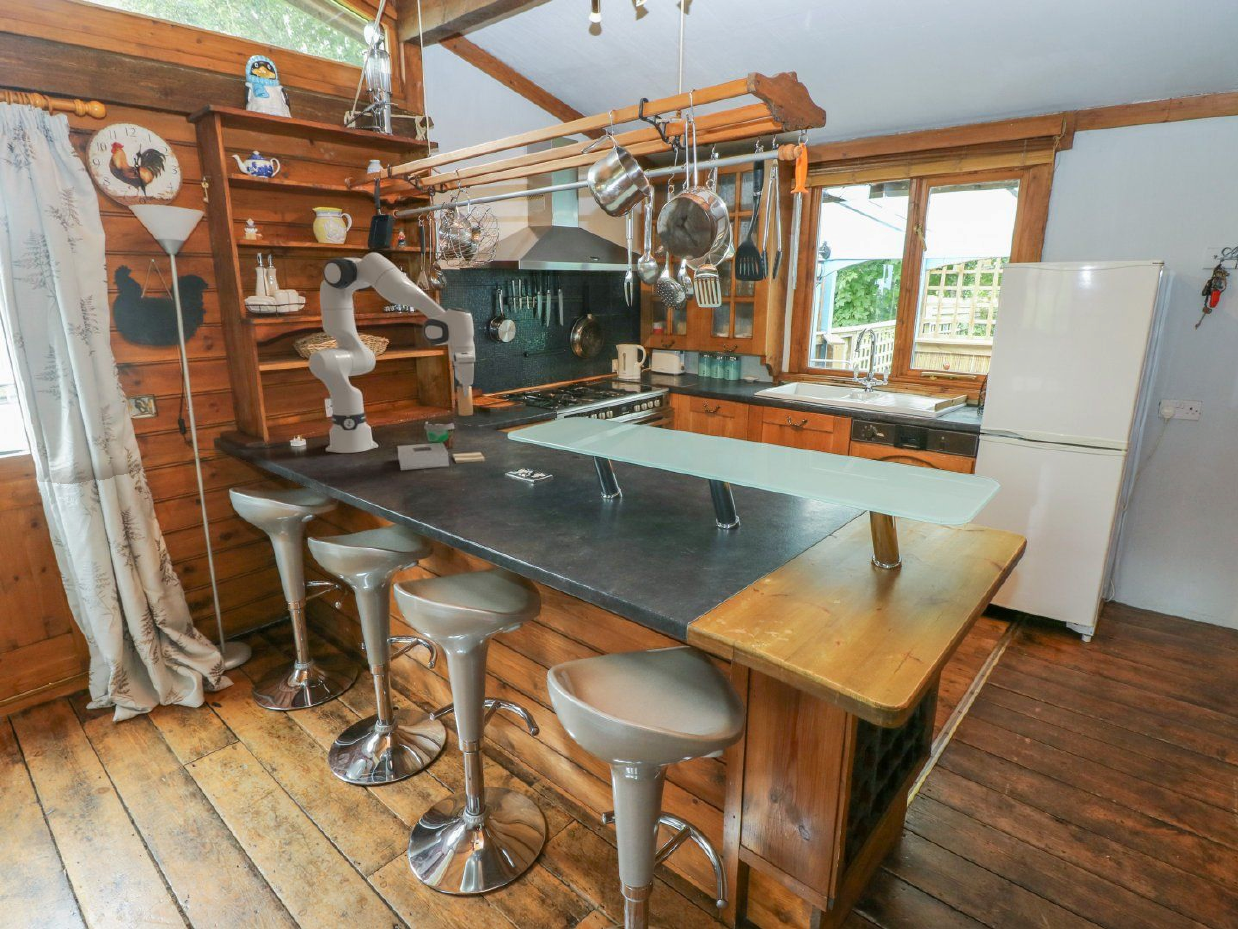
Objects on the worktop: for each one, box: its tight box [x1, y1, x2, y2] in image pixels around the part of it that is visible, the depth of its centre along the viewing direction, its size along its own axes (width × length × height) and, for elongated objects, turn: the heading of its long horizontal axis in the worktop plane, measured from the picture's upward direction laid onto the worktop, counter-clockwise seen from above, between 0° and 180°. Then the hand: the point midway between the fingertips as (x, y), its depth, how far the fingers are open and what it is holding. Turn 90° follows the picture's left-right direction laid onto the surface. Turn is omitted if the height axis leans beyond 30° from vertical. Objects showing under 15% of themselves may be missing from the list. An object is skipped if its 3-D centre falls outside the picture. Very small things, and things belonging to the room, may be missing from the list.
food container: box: [423, 420, 456, 451], centre depth 257 cm, size 12×6×10 cm, turn 73°
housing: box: [397, 443, 450, 471], centre depth 237 cm, size 16×16×5 cm
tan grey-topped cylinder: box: [456, 384, 474, 417], centre depth 238 cm, size 5×5×11 cm
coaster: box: [452, 451, 486, 464], centre depth 243 cm, size 10×10×1 cm
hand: (464, 394), depth 237 cm, fingers closed on tan grey-topped cylinder, 5 cm apart
